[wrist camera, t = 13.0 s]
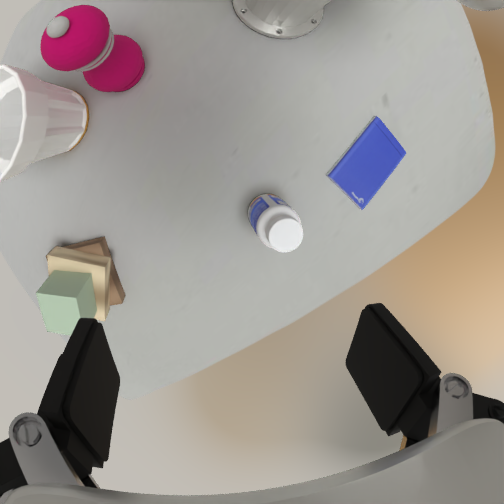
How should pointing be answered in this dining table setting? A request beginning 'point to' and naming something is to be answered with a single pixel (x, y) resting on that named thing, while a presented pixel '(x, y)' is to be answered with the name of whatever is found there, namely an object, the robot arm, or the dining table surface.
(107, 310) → the oak top block
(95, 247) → the walnut base block
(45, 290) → the sage block
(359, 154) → the hard drive
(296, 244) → the pill bottle
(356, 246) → the dining table surface
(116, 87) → the pepper mill
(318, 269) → the dining table surface
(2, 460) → the robot arm
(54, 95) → the cup
